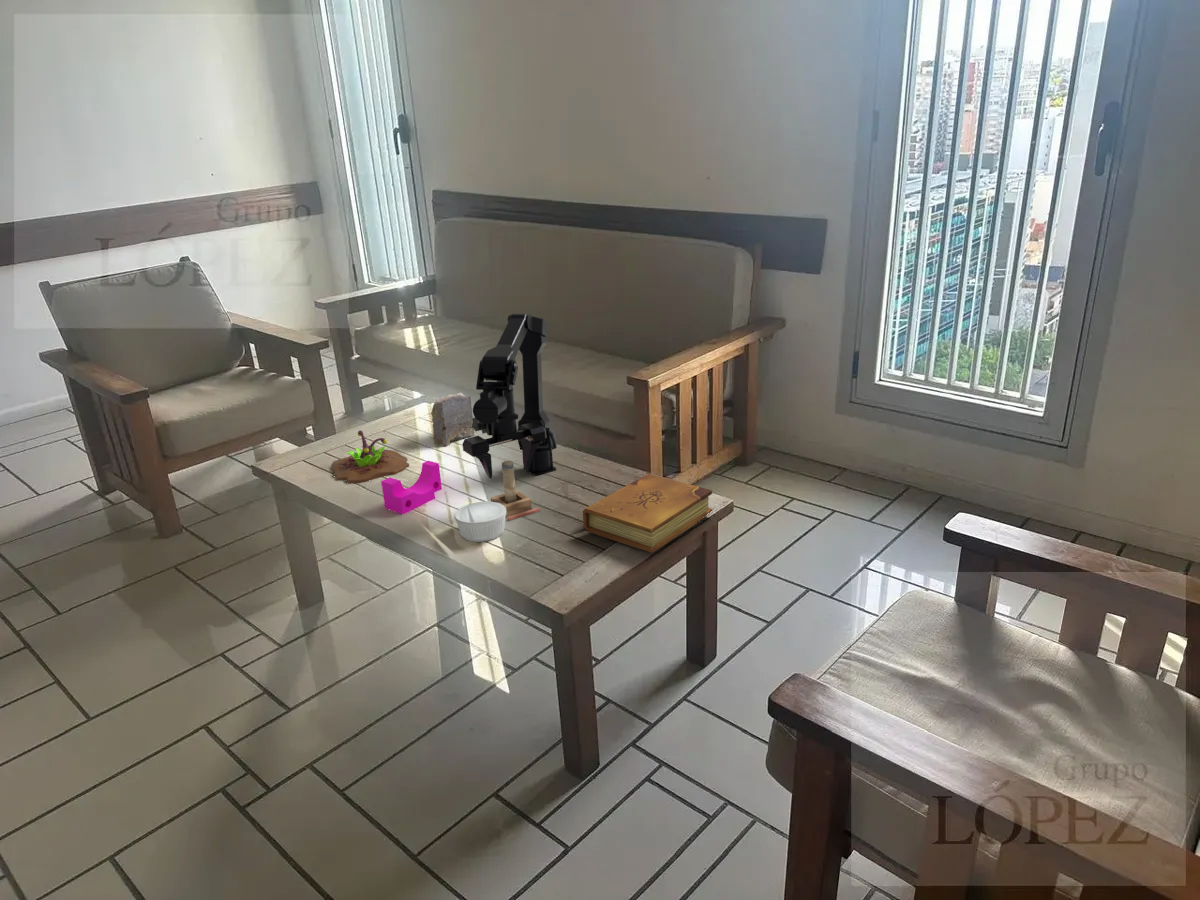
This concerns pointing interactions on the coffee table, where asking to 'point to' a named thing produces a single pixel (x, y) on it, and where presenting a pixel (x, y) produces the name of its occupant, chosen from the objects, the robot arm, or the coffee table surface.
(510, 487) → the dowel
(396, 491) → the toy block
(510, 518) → the wooden square frame
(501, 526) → the ramekin
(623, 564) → the coffee table surface
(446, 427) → the geological specimen
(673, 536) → the diary
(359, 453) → the plant
